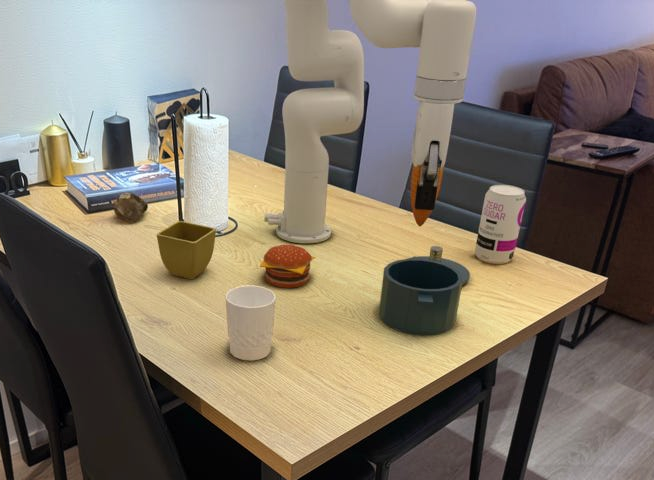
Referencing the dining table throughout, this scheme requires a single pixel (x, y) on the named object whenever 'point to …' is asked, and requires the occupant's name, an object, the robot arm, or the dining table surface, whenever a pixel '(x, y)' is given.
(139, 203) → the fossilized seashell
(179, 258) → the flower pot
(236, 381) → the dining table surface
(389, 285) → the pot
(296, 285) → the hamburger
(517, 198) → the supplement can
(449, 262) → the pot lid
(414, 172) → the carrot
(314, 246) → the dining table surface
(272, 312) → the white cup
